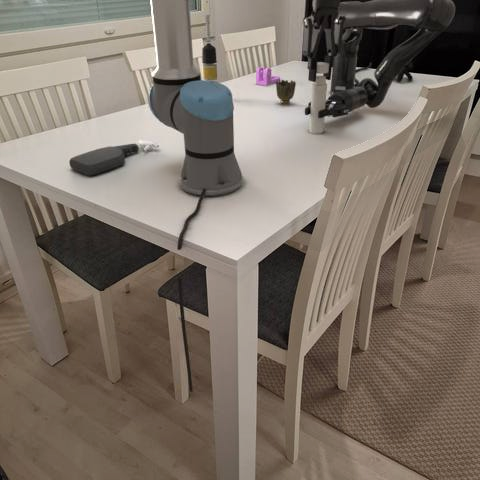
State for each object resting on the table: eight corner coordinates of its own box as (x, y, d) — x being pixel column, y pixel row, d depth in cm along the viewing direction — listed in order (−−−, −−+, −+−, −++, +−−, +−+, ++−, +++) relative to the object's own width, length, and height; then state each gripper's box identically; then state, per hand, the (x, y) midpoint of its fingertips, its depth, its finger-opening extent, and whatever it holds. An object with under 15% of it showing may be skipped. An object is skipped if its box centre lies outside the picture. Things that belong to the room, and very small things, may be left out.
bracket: (266, 85, 195) (266, 69, 192) (256, 84, 198) (256, 67, 195) (282, 80, 204) (282, 64, 200) (272, 78, 207) (272, 62, 203)
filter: (220, 99, 177) (217, 15, 161) (206, 100, 176) (202, 16, 160) (215, 96, 182) (212, 14, 166) (202, 97, 180) (197, 14, 164)
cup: (272, 105, 169) (272, 83, 165) (279, 100, 174) (280, 79, 170) (290, 107, 166) (291, 85, 162) (297, 102, 171) (298, 80, 167)
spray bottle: (67, 168, 120) (139, 144, 136) (91, 178, 114) (163, 151, 130) (65, 157, 118) (137, 134, 134) (89, 167, 112) (162, 142, 128)
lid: (316, 69, 136) (317, 61, 134) (331, 71, 133) (332, 63, 132) (308, 72, 132) (309, 64, 131) (323, 74, 130) (324, 65, 129)
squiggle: (400, 92, 202) (376, 71, 205) (417, 76, 202) (392, 56, 205) (405, 81, 191) (380, 59, 194) (423, 64, 191) (397, 42, 194)
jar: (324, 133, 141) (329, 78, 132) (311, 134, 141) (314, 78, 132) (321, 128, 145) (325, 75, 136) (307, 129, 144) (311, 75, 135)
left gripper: (308, -8, 115) (302, 85, 127) (361, -9, 123) (350, 79, 135) (292, -9, 121) (287, 80, 133) (343, -10, 128) (334, 74, 140)
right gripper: (327, 87, 150) (294, 97, 140) (364, 94, 141) (332, 105, 131) (325, 109, 154) (293, 120, 144) (361, 117, 145) (330, 130, 135)
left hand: (319, 79), depth 134 cm, fingers closed on lid, 5 cm apart
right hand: (312, 113), depth 138 cm, fingers closed on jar, 4 cm apart
